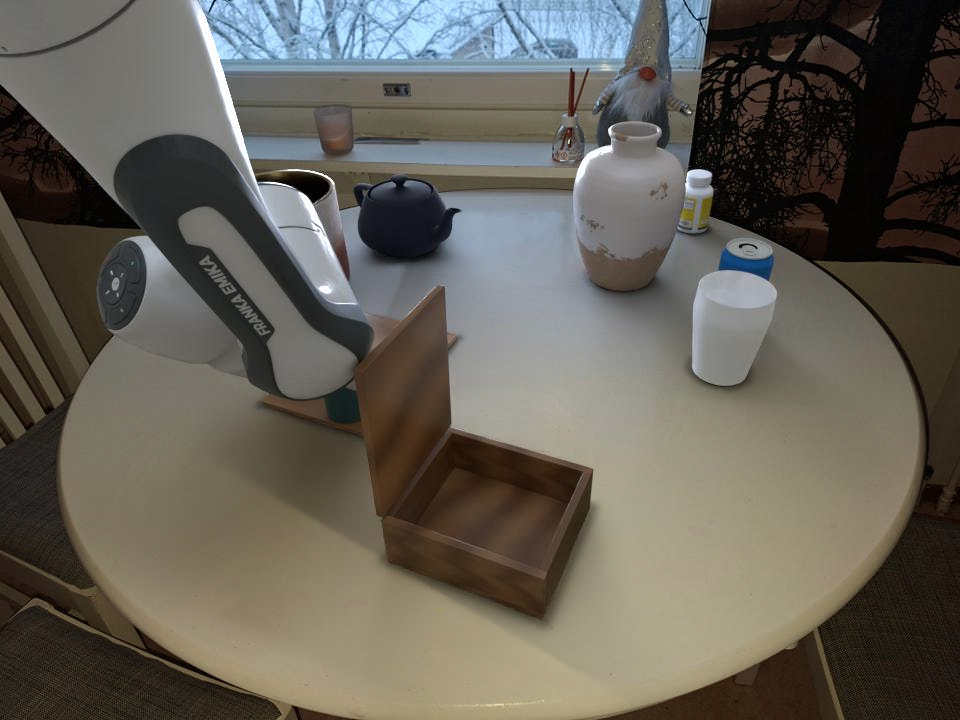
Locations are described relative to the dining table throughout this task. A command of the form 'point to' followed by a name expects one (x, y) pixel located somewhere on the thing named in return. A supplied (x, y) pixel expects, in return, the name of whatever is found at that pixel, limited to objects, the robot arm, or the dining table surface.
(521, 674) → the dining table surface
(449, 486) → the chest
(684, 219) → the supplement bottle
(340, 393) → the tea tin
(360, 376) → the chest lid
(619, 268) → the vase
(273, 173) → the planter
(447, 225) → the teapot
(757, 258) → the beverage can
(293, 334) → the robot arm
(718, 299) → the cup
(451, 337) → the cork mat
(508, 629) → the dining table surface
